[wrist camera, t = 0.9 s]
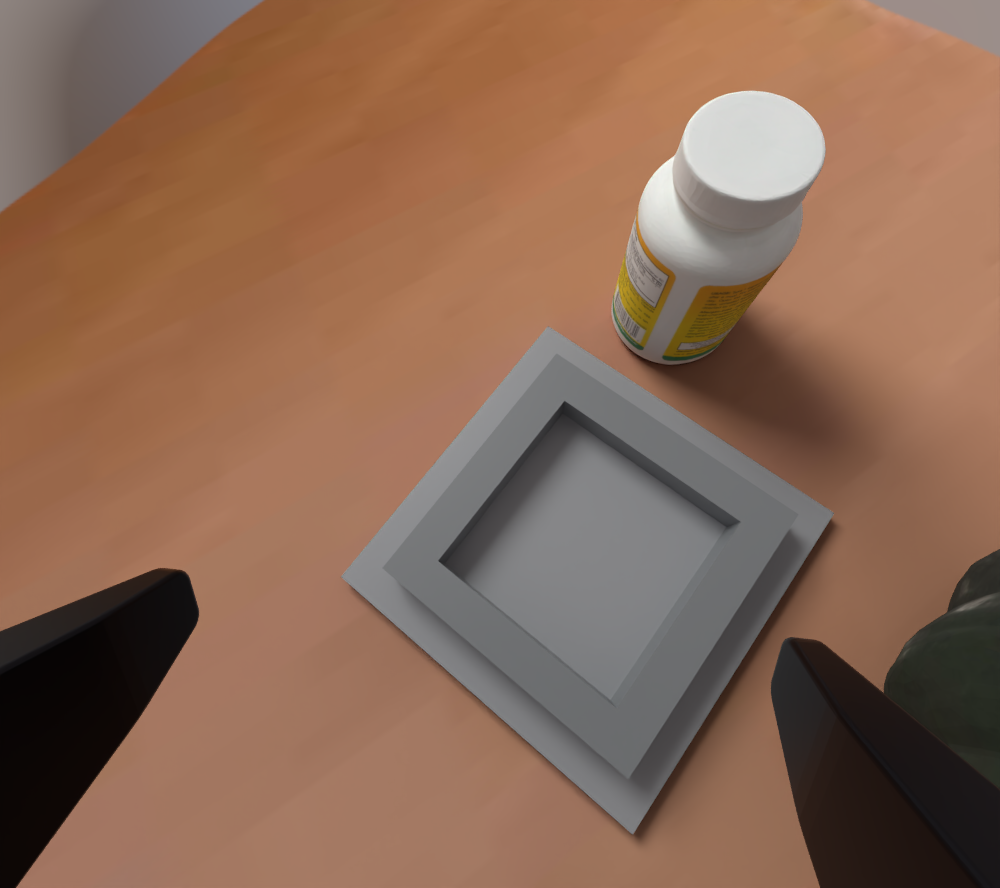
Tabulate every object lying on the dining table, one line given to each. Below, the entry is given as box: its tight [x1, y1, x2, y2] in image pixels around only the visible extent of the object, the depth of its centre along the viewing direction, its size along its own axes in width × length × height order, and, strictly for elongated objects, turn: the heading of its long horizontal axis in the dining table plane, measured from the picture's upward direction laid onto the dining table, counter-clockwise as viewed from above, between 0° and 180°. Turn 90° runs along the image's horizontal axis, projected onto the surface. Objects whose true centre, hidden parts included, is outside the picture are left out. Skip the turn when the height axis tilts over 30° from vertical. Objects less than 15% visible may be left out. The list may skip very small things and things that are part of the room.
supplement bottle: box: [612, 91, 826, 365], centre depth 19 cm, size 5×5×10 cm
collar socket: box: [341, 326, 834, 835], centre depth 20 cm, size 14×14×2 cm
